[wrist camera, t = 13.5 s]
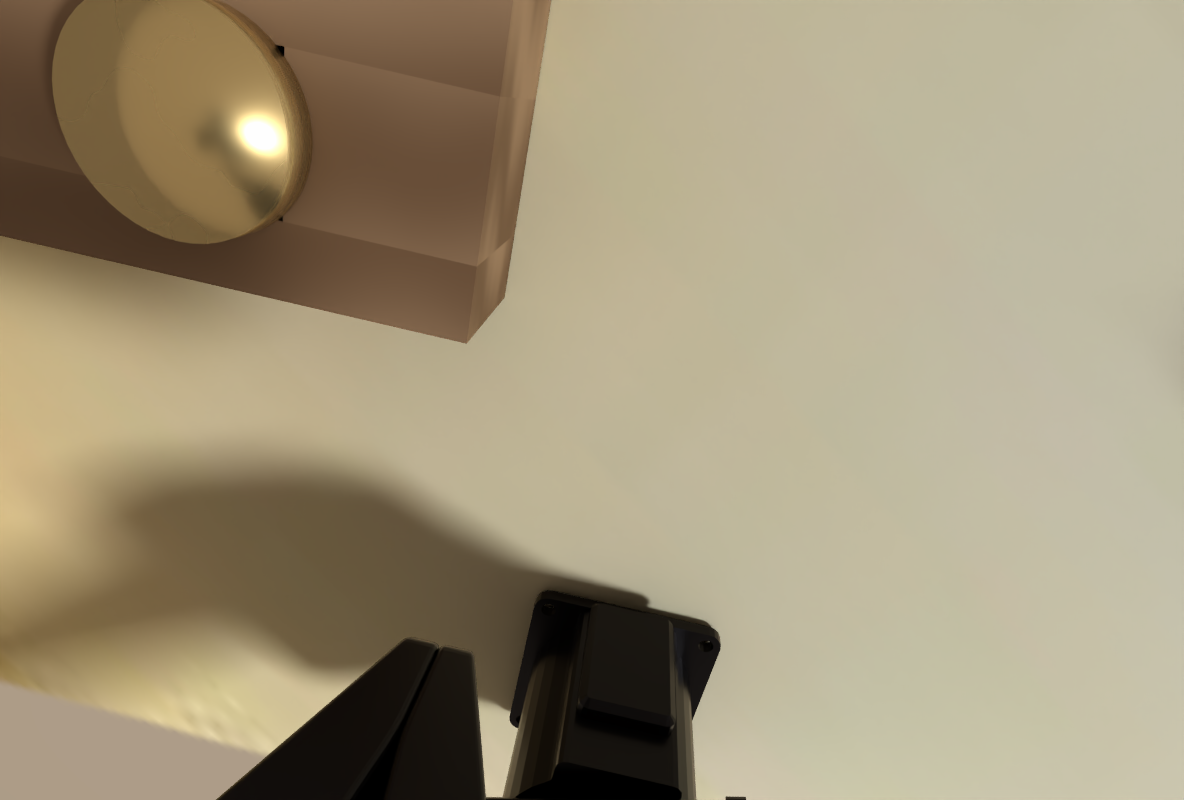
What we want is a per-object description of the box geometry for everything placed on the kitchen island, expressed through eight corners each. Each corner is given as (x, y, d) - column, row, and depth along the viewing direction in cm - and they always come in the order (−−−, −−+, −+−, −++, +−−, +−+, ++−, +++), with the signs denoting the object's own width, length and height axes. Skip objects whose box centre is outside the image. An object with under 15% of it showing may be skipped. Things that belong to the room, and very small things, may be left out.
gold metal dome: (377, 227, 18) (286, 266, 13) (213, 189, 18) (68, 215, 13) (391, 40, 16) (289, 13, 11) (206, -4, 16) (35, -46, 11)
